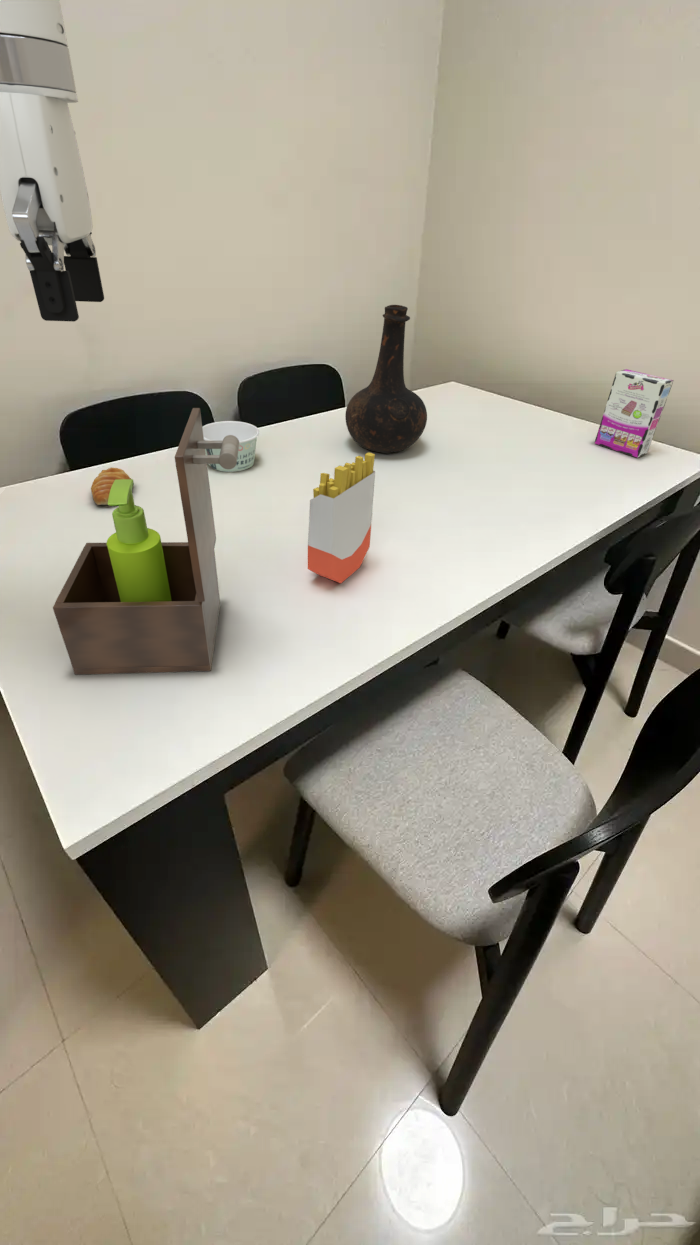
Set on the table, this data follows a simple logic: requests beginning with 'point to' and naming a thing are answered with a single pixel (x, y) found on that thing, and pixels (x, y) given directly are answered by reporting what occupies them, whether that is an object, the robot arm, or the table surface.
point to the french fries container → (341, 519)
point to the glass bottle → (387, 396)
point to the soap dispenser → (135, 550)
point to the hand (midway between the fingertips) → (75, 310)
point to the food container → (245, 436)
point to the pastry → (106, 484)
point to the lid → (200, 494)
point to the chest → (137, 618)
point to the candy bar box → (633, 412)
